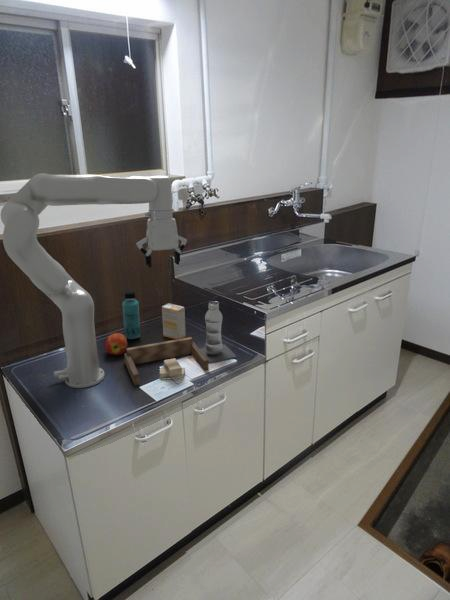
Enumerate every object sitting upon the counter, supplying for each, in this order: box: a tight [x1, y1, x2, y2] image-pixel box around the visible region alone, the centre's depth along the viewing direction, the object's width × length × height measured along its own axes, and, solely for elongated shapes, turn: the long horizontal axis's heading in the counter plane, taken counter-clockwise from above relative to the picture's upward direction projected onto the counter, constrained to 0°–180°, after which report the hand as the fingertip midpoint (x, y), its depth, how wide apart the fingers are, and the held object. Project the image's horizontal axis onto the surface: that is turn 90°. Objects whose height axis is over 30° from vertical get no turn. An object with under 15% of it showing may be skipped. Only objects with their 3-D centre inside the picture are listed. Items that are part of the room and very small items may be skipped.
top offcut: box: [163, 357, 183, 377], centre depth 141 cm, size 7×4×2 cm, turn 24°
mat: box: [199, 343, 237, 364], centre depth 157 cm, size 11×11×1 cm
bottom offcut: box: [159, 366, 186, 380], centre depth 142 cm, size 8×4×2 cm, turn 89°
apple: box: [104, 332, 128, 356], centre depth 156 cm, size 8×8×8 cm
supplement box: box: [161, 303, 187, 340], centre depth 169 cm, size 8×5×13 cm, turn 58°
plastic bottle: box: [204, 300, 223, 355], centre depth 153 cm, size 6×7×20 cm
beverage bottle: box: [121, 290, 141, 340], centre depth 165 cm, size 6×7×20 cm
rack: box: [123, 336, 210, 386], centre depth 147 cm, size 26×16×6 cm, turn 113°
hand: (163, 265), depth 145 cm, fingers open, 9 cm apart
